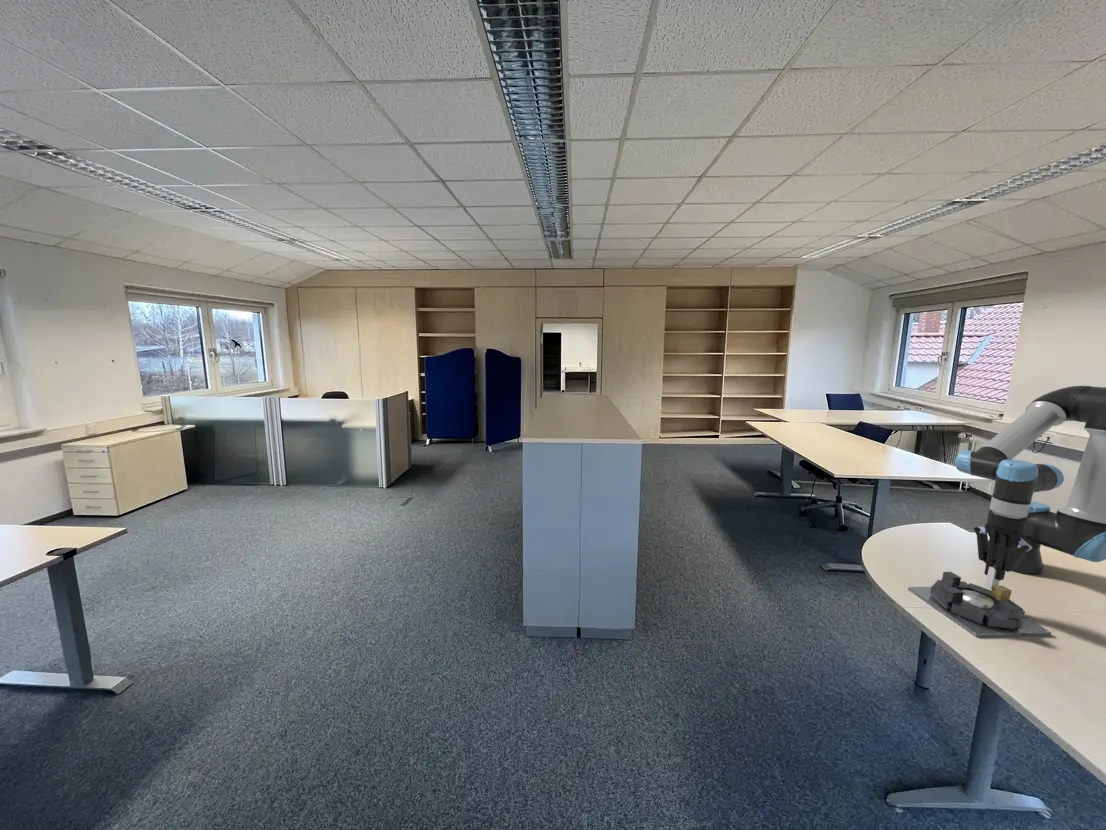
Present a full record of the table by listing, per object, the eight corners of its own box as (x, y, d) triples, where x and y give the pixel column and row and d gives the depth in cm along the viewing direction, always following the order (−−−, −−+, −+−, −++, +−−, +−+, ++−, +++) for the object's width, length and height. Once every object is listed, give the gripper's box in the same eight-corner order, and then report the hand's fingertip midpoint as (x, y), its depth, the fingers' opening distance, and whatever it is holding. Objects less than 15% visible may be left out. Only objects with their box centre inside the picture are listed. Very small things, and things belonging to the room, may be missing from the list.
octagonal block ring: (1027, 611, 120) (1031, 594, 119) (1013, 637, 110) (1018, 618, 109) (942, 580, 135) (945, 565, 134) (923, 600, 125) (926, 583, 124)
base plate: (971, 589, 133) (974, 576, 132) (1050, 635, 113) (1054, 620, 112) (907, 589, 133) (910, 577, 132) (975, 636, 112) (978, 621, 111)
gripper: (1047, 522, 114) (1029, 599, 119) (990, 503, 127) (975, 573, 131) (1027, 524, 113) (1009, 602, 117) (971, 505, 125) (956, 576, 130)
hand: (991, 587), depth 124 cm, fingers closed
